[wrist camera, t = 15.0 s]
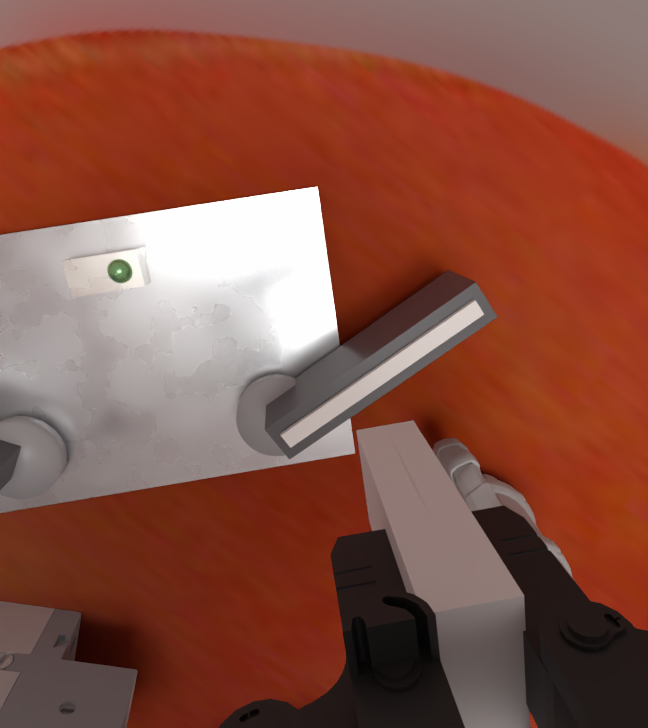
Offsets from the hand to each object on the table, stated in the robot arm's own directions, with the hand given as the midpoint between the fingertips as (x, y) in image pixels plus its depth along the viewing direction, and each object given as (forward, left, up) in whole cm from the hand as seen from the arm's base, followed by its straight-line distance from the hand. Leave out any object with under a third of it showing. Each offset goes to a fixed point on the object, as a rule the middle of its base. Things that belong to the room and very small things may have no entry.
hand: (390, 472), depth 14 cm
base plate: (-12, 0, -17) cm, 21 cm away
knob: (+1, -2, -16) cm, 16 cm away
